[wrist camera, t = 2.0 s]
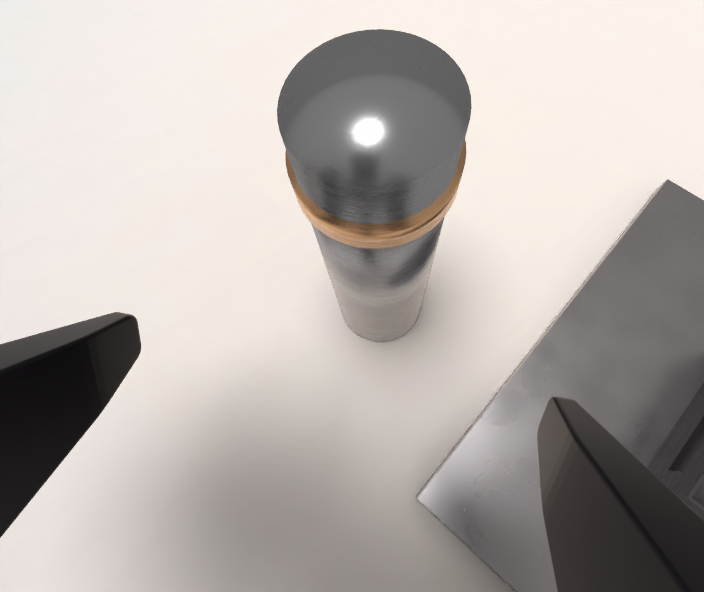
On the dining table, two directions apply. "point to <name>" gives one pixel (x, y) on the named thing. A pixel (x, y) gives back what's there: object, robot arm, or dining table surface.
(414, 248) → the grey metal cylinder
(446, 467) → the collar stand
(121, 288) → the dining table surface
